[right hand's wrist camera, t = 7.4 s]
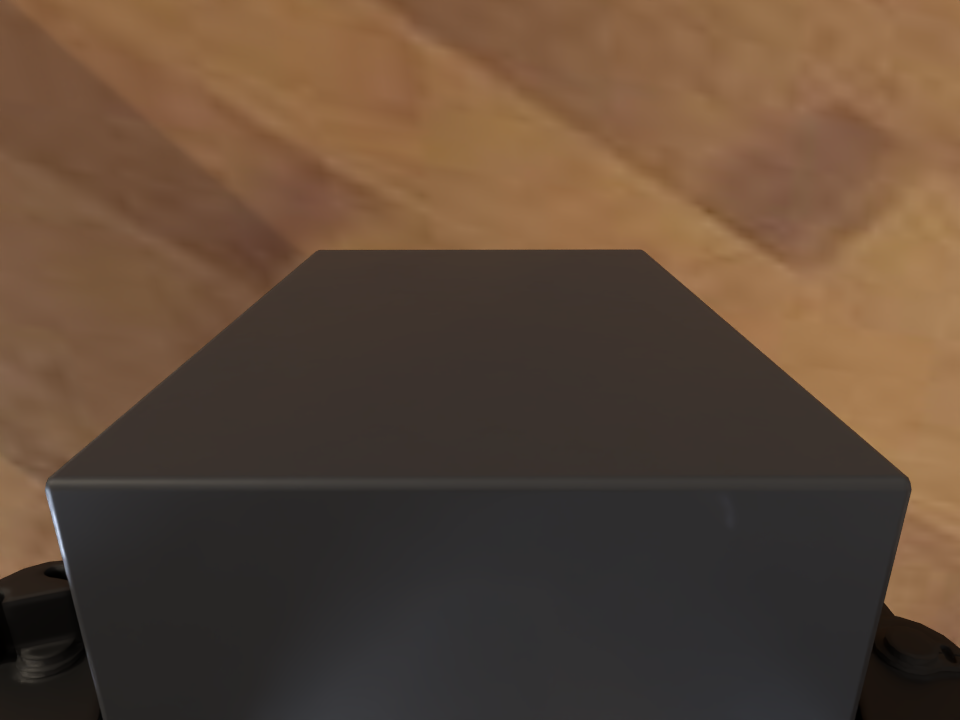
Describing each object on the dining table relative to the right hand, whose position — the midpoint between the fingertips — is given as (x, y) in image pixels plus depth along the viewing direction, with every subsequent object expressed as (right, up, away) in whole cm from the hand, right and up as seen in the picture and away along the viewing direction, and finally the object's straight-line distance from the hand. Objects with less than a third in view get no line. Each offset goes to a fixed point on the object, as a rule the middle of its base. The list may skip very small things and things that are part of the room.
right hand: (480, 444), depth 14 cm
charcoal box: (0, -11, +5) cm, 12 cm away
